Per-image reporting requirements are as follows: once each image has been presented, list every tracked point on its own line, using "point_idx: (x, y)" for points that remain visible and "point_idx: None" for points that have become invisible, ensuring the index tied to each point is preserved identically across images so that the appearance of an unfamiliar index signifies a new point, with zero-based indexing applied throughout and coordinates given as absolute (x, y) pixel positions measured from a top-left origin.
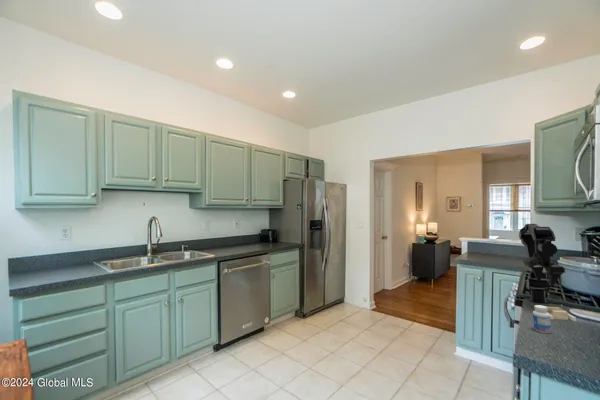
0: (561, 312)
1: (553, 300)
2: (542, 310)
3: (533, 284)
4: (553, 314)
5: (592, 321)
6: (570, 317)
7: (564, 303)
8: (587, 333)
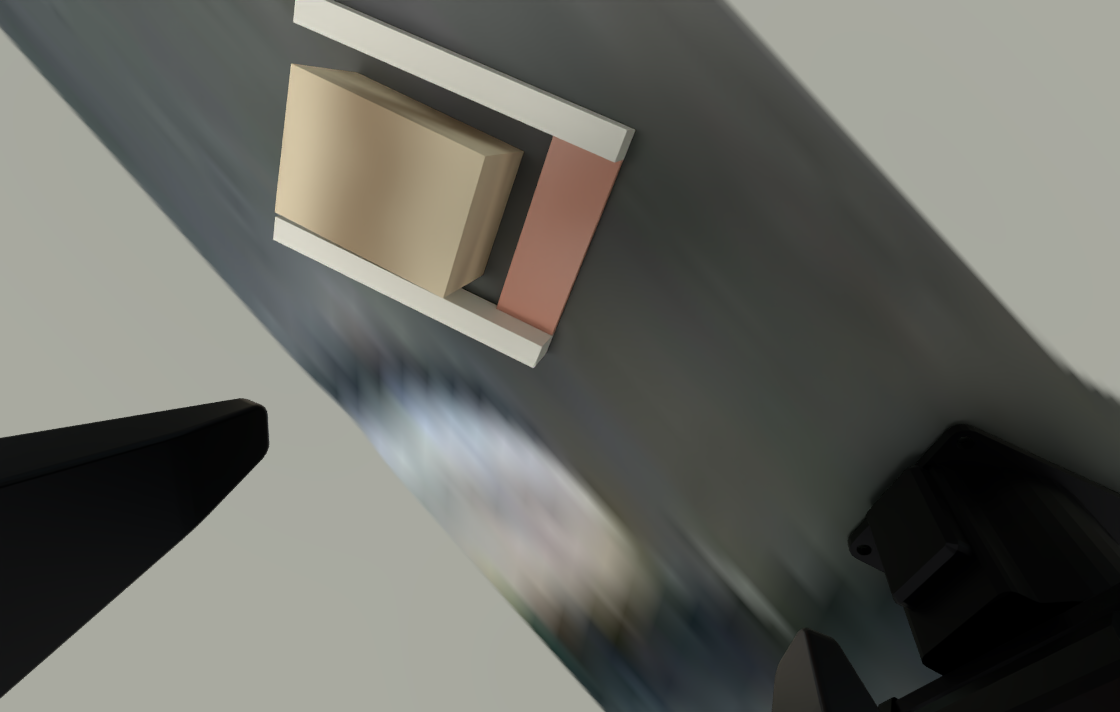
0: (287, 150)
1: None
2: None
3: (1102, 658)
4: (337, 74)
5: (308, 363)
6: None
7: None
8: (38, 24)
